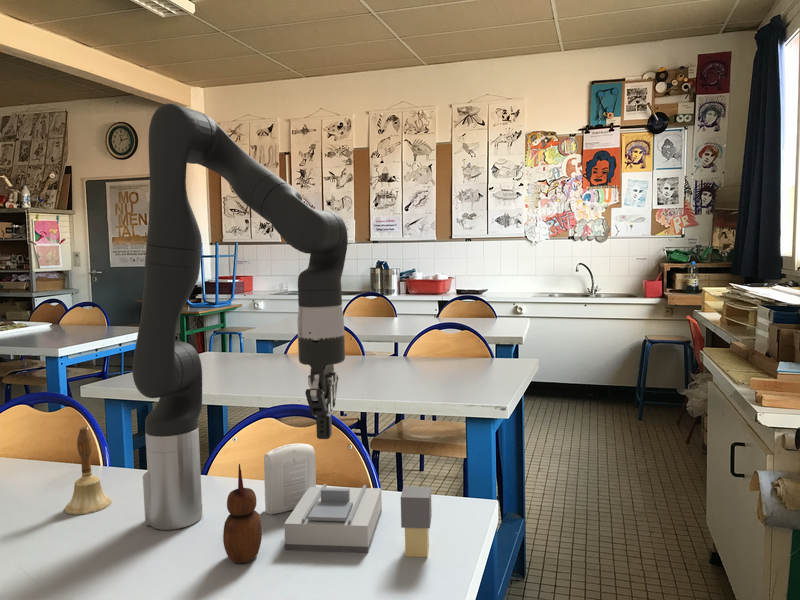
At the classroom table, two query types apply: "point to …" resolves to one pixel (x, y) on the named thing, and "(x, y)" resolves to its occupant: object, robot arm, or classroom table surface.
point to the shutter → (332, 505)
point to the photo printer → (288, 476)
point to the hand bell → (86, 482)
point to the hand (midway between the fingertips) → (324, 437)
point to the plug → (416, 519)
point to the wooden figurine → (242, 525)
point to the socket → (335, 523)
